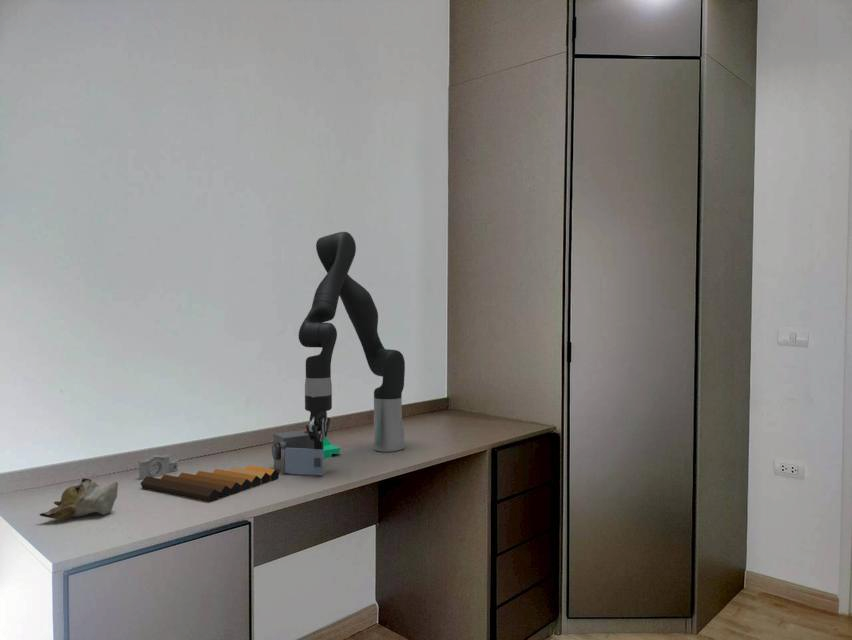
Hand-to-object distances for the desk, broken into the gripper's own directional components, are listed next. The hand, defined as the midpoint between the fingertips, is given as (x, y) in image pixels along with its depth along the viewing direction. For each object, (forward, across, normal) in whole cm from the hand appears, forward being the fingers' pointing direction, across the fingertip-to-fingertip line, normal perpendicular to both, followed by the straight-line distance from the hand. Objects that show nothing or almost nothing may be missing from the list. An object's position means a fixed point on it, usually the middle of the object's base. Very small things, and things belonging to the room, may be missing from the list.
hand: (318, 454), depth 180 cm
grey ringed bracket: (+6, +10, -44) cm, 46 cm away
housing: (+6, -5, -9) cm, 12 cm away
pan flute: (+6, +15, -25) cm, 29 cm away
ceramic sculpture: (+6, +44, -39) cm, 60 cm away
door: (+5, +2, -4) cm, 7 cm away
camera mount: (+6, -21, -8) cm, 23 cm away
